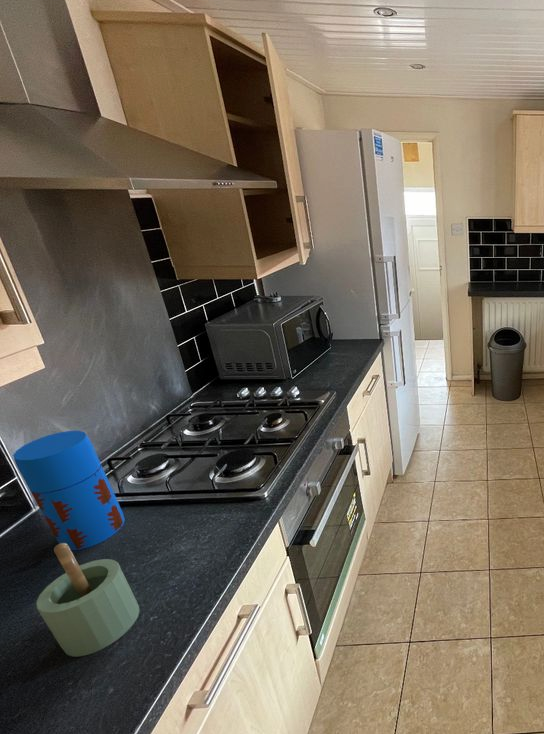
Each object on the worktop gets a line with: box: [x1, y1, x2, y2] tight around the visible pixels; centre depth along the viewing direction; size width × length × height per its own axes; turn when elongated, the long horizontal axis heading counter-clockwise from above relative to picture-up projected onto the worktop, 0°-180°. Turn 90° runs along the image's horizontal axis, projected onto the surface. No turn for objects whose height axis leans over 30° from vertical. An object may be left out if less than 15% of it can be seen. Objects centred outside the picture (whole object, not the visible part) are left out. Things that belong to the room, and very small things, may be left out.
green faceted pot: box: [35, 558, 140, 658], centre depth 73 cm, size 10×10×11 cm
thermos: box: [13, 430, 126, 551], centre depth 90 cm, size 11×11×25 cm
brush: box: [53, 543, 92, 598], centre depth 71 cm, size 4×4×19 cm
